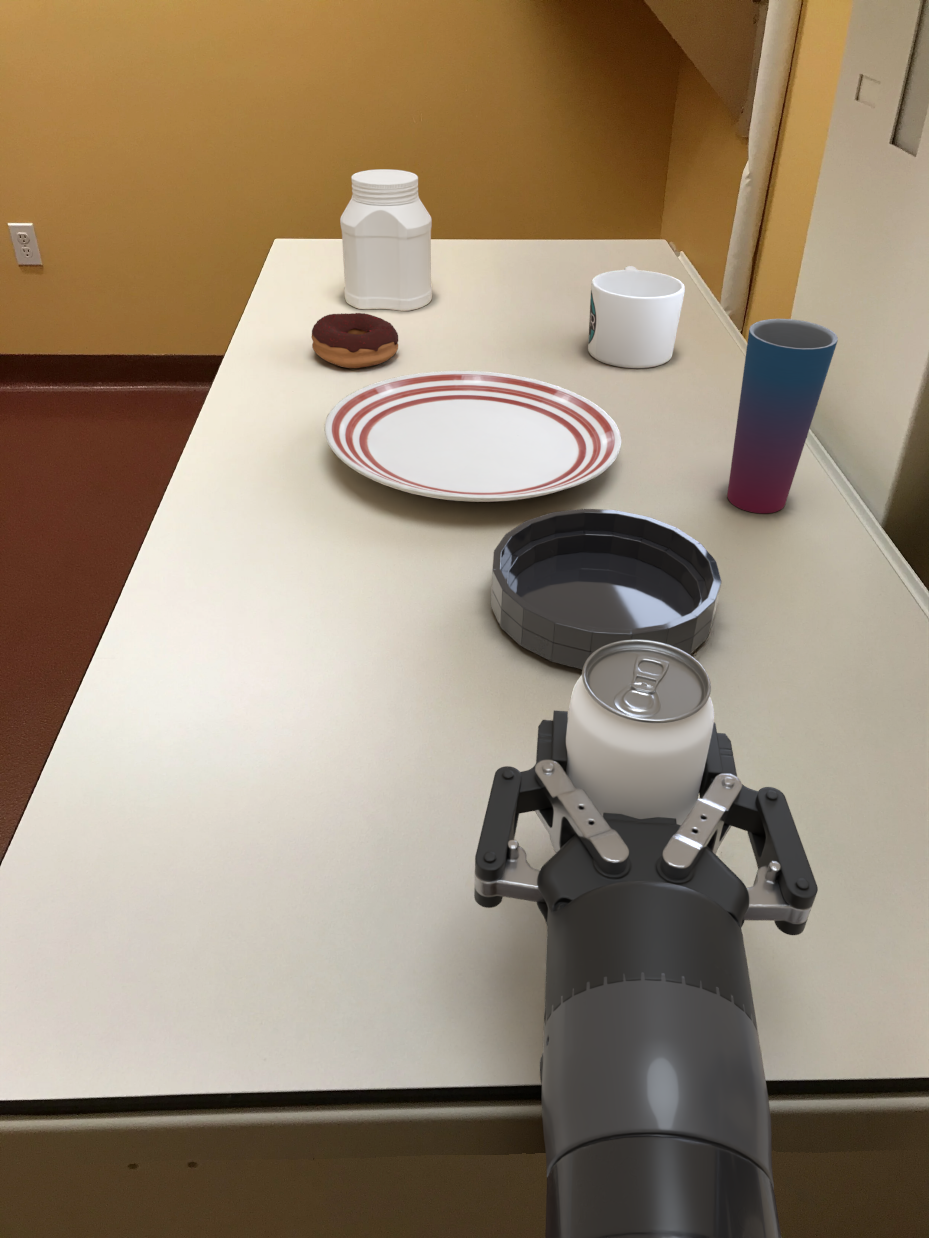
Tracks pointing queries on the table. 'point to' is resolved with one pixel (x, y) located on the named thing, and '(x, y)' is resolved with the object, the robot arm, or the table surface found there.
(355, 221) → the jar
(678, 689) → the can
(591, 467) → the dinner plate
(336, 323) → the donut
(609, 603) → the pan
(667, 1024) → the robot arm
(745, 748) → the table surface
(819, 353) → the cup
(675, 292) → the mug
